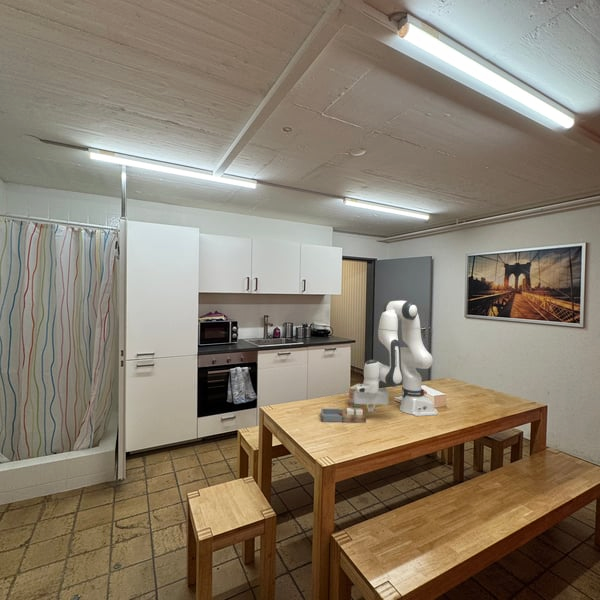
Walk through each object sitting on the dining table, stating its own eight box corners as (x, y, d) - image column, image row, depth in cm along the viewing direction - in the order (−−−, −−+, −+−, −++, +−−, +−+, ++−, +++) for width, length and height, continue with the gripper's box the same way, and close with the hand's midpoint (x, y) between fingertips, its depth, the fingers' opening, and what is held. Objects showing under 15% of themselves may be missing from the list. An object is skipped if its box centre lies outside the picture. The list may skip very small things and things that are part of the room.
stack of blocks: (363, 397, 219) (363, 380, 219) (371, 399, 215) (371, 381, 215) (348, 406, 202) (349, 387, 202) (357, 408, 198) (357, 389, 198)
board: (361, 414, 188) (361, 409, 188) (365, 423, 176) (365, 417, 176) (340, 414, 188) (340, 409, 188) (342, 422, 176) (343, 417, 176)
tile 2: (361, 412, 184) (361, 408, 184) (362, 414, 180) (362, 410, 180) (354, 412, 184) (354, 408, 184) (355, 414, 180) (355, 410, 180)
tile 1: (352, 412, 184) (353, 407, 184) (354, 414, 180) (354, 410, 180) (346, 412, 184) (346, 407, 184) (347, 414, 180) (347, 410, 180)
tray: (339, 414, 188) (339, 408, 188) (342, 422, 177) (342, 416, 176) (321, 414, 188) (321, 408, 188) (322, 422, 177) (322, 415, 176)
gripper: (387, 386, 185) (386, 409, 185) (352, 385, 184) (352, 408, 185) (390, 390, 178) (389, 413, 179) (354, 389, 178) (354, 413, 178)
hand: (370, 411), depth 182 cm, fingers closed
